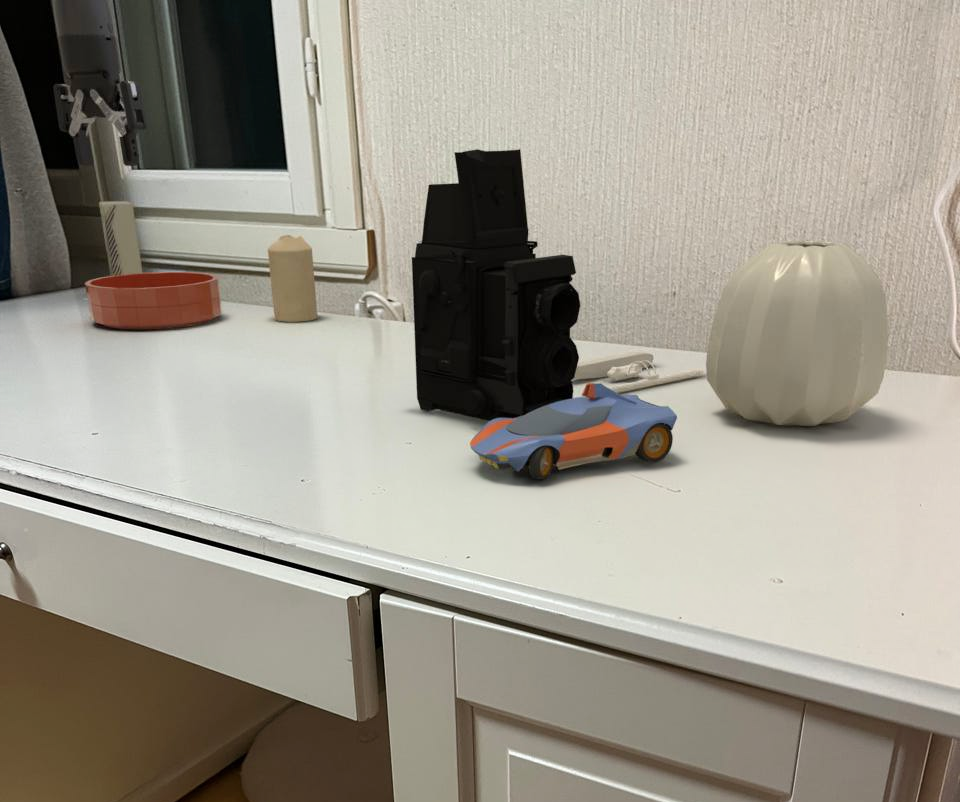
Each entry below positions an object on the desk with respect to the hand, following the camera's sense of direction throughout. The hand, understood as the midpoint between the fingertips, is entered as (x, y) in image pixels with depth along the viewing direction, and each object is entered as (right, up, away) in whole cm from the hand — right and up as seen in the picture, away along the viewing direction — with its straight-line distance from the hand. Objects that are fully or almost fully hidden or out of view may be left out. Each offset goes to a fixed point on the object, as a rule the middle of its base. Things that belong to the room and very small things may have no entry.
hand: (108, 165), depth 142 cm
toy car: (+60, -55, -70) cm, 108 cm away
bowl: (+12, -27, -14) cm, 32 cm away
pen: (+66, -43, -45) cm, 90 cm away
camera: (+55, -49, -58) cm, 94 cm away
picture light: (+68, -44, -48) cm, 95 cm away
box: (0, -16, +8) cm, 18 cm away
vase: (+79, -50, -60) cm, 111 cm away
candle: (+30, -27, -13) cm, 42 cm away
